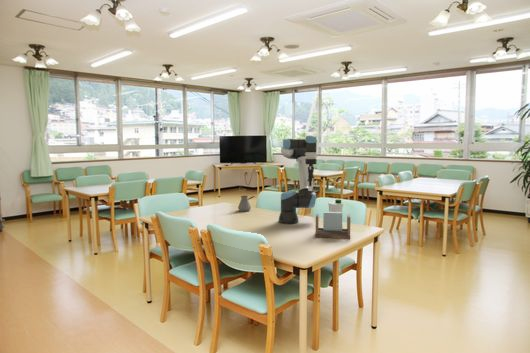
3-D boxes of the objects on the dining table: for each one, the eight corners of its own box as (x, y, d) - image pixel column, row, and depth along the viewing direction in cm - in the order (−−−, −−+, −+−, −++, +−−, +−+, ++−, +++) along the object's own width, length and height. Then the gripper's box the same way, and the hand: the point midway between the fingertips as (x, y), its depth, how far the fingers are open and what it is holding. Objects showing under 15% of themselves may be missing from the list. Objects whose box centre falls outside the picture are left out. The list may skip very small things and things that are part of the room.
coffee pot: (235, 210, 321) (235, 193, 319) (246, 208, 328) (246, 192, 326) (249, 214, 304) (248, 196, 302) (260, 212, 311) (260, 195, 309)
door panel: (323, 232, 242) (323, 211, 240) (341, 233, 240) (342, 212, 238) (323, 233, 239) (323, 212, 237) (342, 234, 237) (342, 213, 235)
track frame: (316, 232, 247) (316, 213, 246) (349, 233, 243) (349, 213, 242) (315, 237, 236) (315, 217, 234) (350, 238, 232) (350, 218, 230)
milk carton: (344, 228, 256) (344, 200, 254) (333, 230, 253) (333, 201, 251) (337, 225, 264) (337, 198, 262) (326, 227, 261) (326, 199, 259)
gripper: (306, 157, 261) (306, 186, 263) (304, 159, 236) (304, 192, 239) (317, 157, 259) (316, 186, 262) (315, 159, 235) (315, 192, 238)
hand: (310, 189), depth 250 cm, fingers open, 13 cm apart
